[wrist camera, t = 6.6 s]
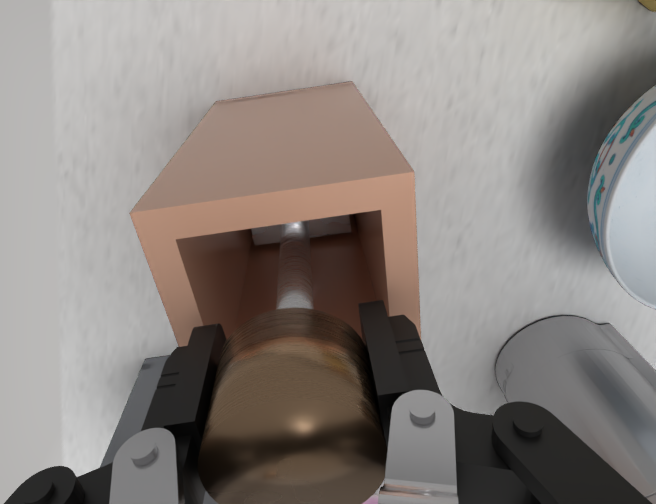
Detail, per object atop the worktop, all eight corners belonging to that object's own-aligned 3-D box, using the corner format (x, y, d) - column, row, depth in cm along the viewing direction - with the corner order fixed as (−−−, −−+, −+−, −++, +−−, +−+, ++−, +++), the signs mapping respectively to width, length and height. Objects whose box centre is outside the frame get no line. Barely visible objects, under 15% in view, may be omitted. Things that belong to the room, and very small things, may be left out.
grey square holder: (247, 344, 36) (216, 568, 22) (267, 416, 39) (252, 646, 25) (145, 358, 36) (47, 591, 22) (175, 429, 40) (108, 666, 26)
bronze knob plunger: (338, 132, 23) (412, 358, 8) (350, 226, 25) (420, 523, 11) (234, 147, 23) (131, 397, 9) (255, 240, 25) (204, 553, 11)
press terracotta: (352, 81, 27) (414, 171, 13) (364, 207, 31) (422, 382, 17) (216, 101, 27) (129, 212, 13) (245, 224, 31) (203, 413, 17)
